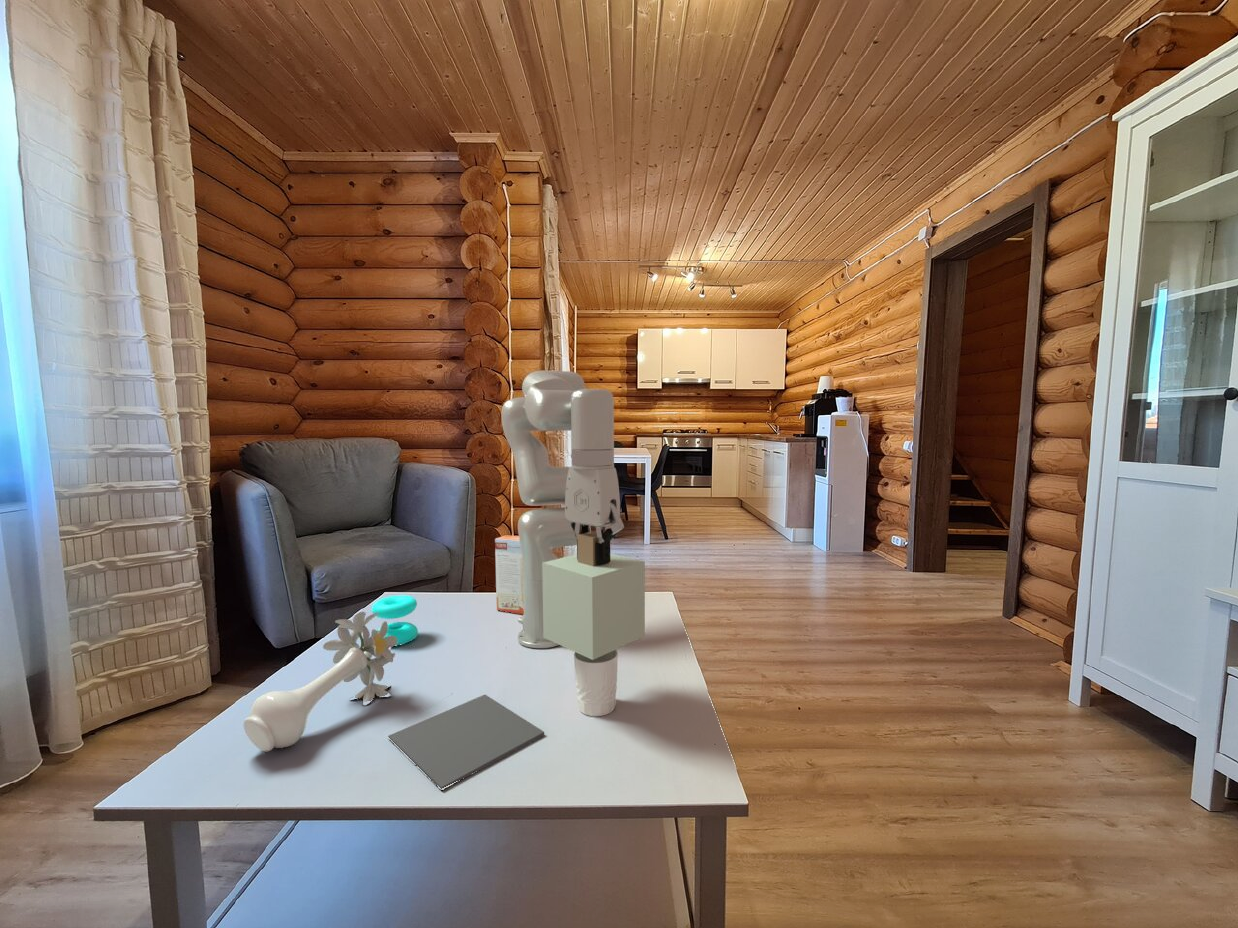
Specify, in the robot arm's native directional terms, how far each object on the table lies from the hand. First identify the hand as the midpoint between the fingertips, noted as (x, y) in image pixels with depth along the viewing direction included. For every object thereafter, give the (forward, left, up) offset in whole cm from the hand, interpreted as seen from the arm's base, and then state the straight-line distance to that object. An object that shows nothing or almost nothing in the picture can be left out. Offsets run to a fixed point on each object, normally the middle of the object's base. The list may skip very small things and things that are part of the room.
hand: (593, 560), depth 92 cm
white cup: (0, 0, -27) cm, 27 cm away
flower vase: (-31, -34, -27) cm, 54 cm away
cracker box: (-52, +21, -27) cm, 62 cm away
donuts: (-58, -12, -27) cm, 65 cm away
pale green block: (0, 0, -14) cm, 14 cm away
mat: (-9, -21, -27) cm, 35 cm away
